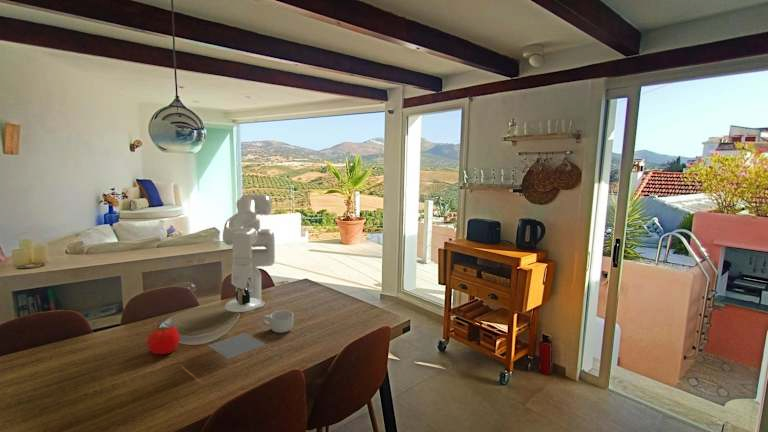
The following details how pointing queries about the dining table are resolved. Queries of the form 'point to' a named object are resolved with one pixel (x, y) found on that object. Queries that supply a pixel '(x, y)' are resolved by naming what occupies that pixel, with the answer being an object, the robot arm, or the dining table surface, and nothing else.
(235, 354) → the mat
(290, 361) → the dining table surface
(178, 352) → the dining table surface
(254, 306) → the lid
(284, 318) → the teacup
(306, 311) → the dining table surface
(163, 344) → the tomato
